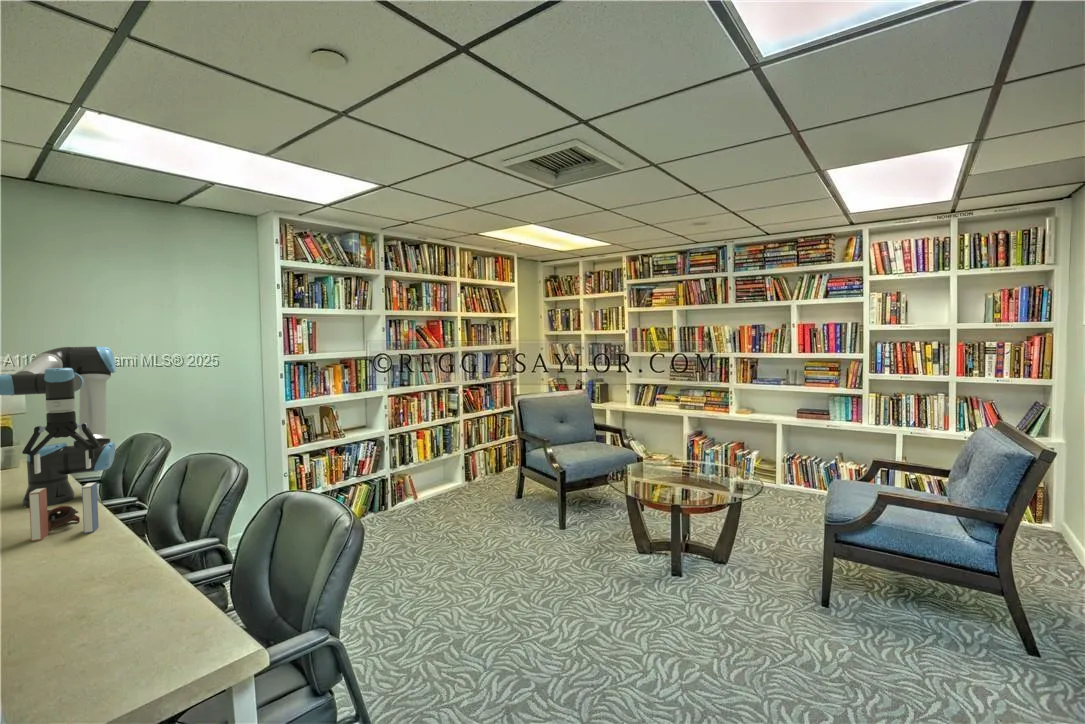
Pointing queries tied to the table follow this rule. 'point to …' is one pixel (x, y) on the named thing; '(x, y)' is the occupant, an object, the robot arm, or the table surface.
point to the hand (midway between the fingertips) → (63, 470)
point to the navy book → (90, 507)
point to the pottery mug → (61, 516)
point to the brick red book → (38, 514)
